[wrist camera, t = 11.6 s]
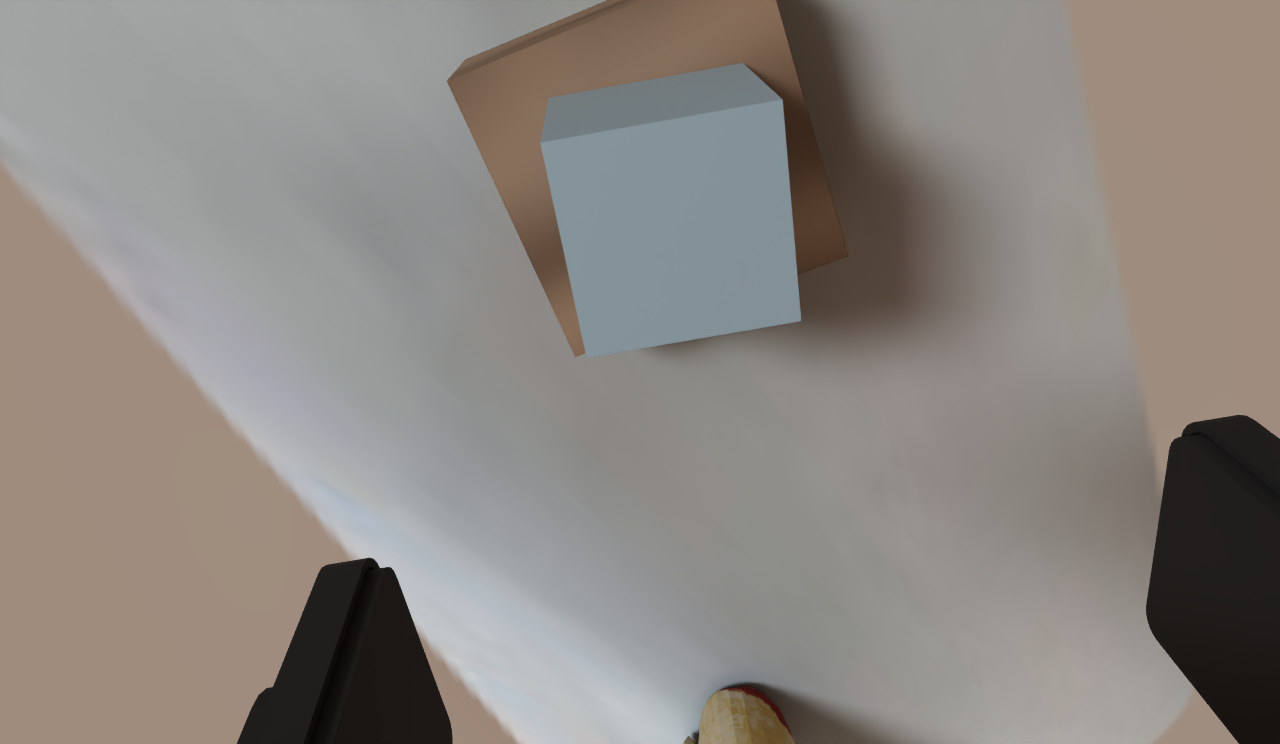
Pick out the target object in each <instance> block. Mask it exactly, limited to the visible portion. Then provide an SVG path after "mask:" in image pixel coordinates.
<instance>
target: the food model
mask: <svg viewBox="0 0 1280 744" xmlns="http://www.w3.org/2000/svg"><path fill="white" fill-rule="evenodd" d="M683 744H696V743H695V742H694V741H693V740H692V739H691V738H690V737H689V736H688V737H687V738H686V740H685V741H684V743H683ZM698 744H796V743H795V741H794V738H793V736H792V733H791V731H790V729H789V727H788V725H787V723H786V721H785V719H784V717H783V715H782V713H781V711H780V709H779V708H778V707H777V706H776V705H775V704H774V703H773V702H772V701H771V700H770V699H769V698H768V697H767V696H766V695H765V694H764V693H763V692H761V691H758V690H756V689H754V688H752V687H750V686H744V687H738V688H725V689H722V690H718V691H716V692H715V693H714V694H713V695H712V696H710V697H709V699H708V701H707V702H706V704H705V706H704V707H703V712H702V717H701V722H700V730H699V743H698Z"/></svg>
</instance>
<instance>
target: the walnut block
mask: <svg viewBox="0 0 1280 744" xmlns="http://www.w3.org/2000/svg"><path fill="white" fill-rule="evenodd" d="M739 63H744V64H745V65H746V66H747V67H748V68H749V69H750V70H751V71H752V72H753V73H754V74H755V75H757V76H758V77H759V78H760V79H761V80H762V81H763V82H764V83H765V84H766V85H767V86H768V87H770V88H771V89H772V90H773V91H774V92H775V93H776V94H777V95H778V96H779V97H780V98H781V99H783V110H784V122H785V134H786V146H787V158H788V170H789V182H790V193H791V205H792V217H793V229H794V241H795V253H796V265H797V275H798V274H800V273H803V272H806V271H808V270H811V269H814V268H816V267H819V266H822V265H824V264H827V263H830V262H833V261H835V260H838V259H841V258H843V257H846V256H848V253H847V249H846V246H845V242H844V239H843V235H842V232H841V228H840V225H839V221H838V218H837V214H836V211H835V207H834V204H833V200H832V196H831V193H830V189H829V186H828V182H827V179H826V175H825V172H824V168H823V165H822V161H821V158H820V154H819V150H818V147H817V143H816V140H815V136H814V133H813V129H812V126H811V122H810V119H809V115H808V112H807V108H806V104H805V101H804V97H803V94H802V90H801V87H800V83H799V80H798V76H797V73H796V69H795V66H794V62H793V58H792V55H791V51H790V48H789V44H788V41H787V37H786V34H785V30H784V27H783V23H782V20H781V16H780V13H779V9H778V5H777V2H776V0H607V1H604V2H602V3H600V4H597V5H595V6H592V7H590V8H588V9H585V10H583V11H580V12H578V13H576V14H573V15H571V16H568V17H566V18H564V19H561V20H559V21H557V22H554V23H552V24H549V25H547V26H545V27H542V28H540V29H537V30H535V31H533V32H530V33H528V34H525V35H523V36H521V37H518V38H516V39H513V40H511V41H509V42H506V43H504V44H501V45H499V46H497V47H494V48H492V49H490V50H487V51H485V52H482V53H480V54H478V55H475V56H473V57H470V58H468V59H466V60H465V61H464V62H463V63H462V64H461V65H460V66H459V68H458V69H457V70H456V71H455V72H454V73H453V74H452V76H451V77H450V78H449V79H448V80H447V82H448V85H449V87H450V89H451V91H452V93H453V95H454V97H455V100H456V102H457V104H458V106H459V108H460V110H461V112H462V115H463V117H464V119H465V121H466V123H467V125H468V127H469V130H470V132H471V134H472V136H473V138H474V140H475V143H476V145H477V147H478V149H479V151H480V153H481V155H482V158H483V160H484V162H485V164H486V166H487V168H488V170H489V173H490V175H491V177H492V179H493V181H494V183H495V185H496V188H497V190H498V192H499V194H500V196H501V198H502V201H503V203H504V205H505V207H506V209H507V211H508V213H509V216H510V218H511V220H512V222H513V224H514V226H515V228H516V231H517V233H518V235H519V237H520V239H521V241H522V243H523V246H524V248H525V250H526V252H527V254H528V256H529V259H530V261H531V263H532V265H533V267H534V269H535V271H536V274H537V276H538V278H539V280H540V282H541V284H542V286H543V289H544V291H545V293H546V295H547V297H548V299H549V301H550V304H551V306H552V308H553V310H554V312H555V314H556V317H557V319H558V321H559V323H560V325H561V327H562V329H563V332H564V334H565V336H566V338H567V340H568V342H569V344H570V347H571V349H572V351H573V353H574V355H575V357H576V356H579V355H582V354H584V353H585V349H584V344H583V339H582V335H581V330H580V326H579V321H578V316H577V312H576V307H575V302H574V298H573V293H572V288H571V284H570V279H569V274H568V270H567V265H566V260H565V256H564V251H563V246H562V242H561V237H560V232H559V228H558V223H557V218H556V214H555V209H554V204H553V200H552V195H551V190H550V186H549V181H548V177H547V172H546V167H545V163H544V158H543V153H542V149H541V144H540V141H541V136H542V131H543V125H544V120H545V115H546V109H547V104H548V99H549V98H550V97H555V96H561V95H566V94H572V93H578V92H583V91H589V90H594V89H600V88H605V87H611V86H617V85H622V84H628V83H633V82H639V81H644V80H650V79H656V78H661V77H667V76H672V75H678V74H683V73H689V72H695V71H700V70H706V69H711V68H717V67H722V66H728V65H734V64H739Z"/></svg>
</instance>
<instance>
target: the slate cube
mask: <svg viewBox="0 0 1280 744" xmlns="http://www.w3.org/2000/svg"><path fill="white" fill-rule="evenodd" d="M540 144H541V149H542V153H543V158H544V163H545V167H546V172H547V177H548V181H549V186H550V190H551V195H552V200H553V204H554V209H555V214H556V218H557V223H558V228H559V232H560V237H561V242H562V246H563V251H564V256H565V260H566V265H567V270H568V274H569V279H570V284H571V288H572V293H573V298H574V302H575V307H576V312H577V316H578V321H579V326H580V330H581V335H582V339H583V344H584V349H585V353H586V358H590V357H596V356H601V355H607V354H613V353H619V352H625V351H631V350H636V349H642V348H648V347H654V346H660V345H665V344H671V343H677V342H683V341H689V340H694V339H700V338H706V337H712V336H718V335H723V334H729V333H735V332H741V331H747V330H753V329H758V328H764V327H770V326H776V325H782V324H787V323H793V322H799V321H801V312H800V300H799V288H798V277H797V265H796V253H795V241H794V229H793V217H792V205H791V193H790V182H789V170H788V158H787V146H786V134H785V122H784V110H783V99H781V98H780V97H779V96H778V95H777V94H776V93H775V92H774V91H773V90H772V89H771V88H770V87H768V86H767V85H766V84H765V83H764V82H763V81H762V80H761V79H760V78H759V77H758V76H757V75H755V74H754V73H753V72H752V71H751V70H750V69H749V68H748V67H747V66H746V65H745V64H744V63H739V64H734V65H728V66H722V67H717V68H711V69H706V70H700V71H695V72H689V73H683V74H678V75H672V76H667V77H661V78H656V79H650V80H644V81H639V82H633V83H628V84H622V85H617V86H611V87H605V88H600V89H594V90H589V91H583V92H578V93H572V94H566V95H561V96H555V97H550V98H549V99H548V104H547V109H546V115H545V120H544V125H543V131H542V136H541V141H540Z"/></svg>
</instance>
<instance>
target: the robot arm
mask: <svg viewBox="0 0 1280 744" xmlns="http://www.w3.org/2000/svg"><path fill="white" fill-rule="evenodd" d="M1146 615H1147V620H1148V623H1149V627H1150V629H1151V631H1152V633H1153V635H1154V637H1155V638H1156V640H1157V641H1158V642H1159V644H1160V645H1161V646H1162V647H1163V649H1164V650H1165V651H1166V652H1167V654H1168V655H1169V656H1170V657H1171V659H1172V660H1173V661H1174V662H1175V664H1176V665H1177V666H1178V667H1179V669H1180V670H1181V671H1182V672H1183V674H1184V675H1185V676H1186V678H1187V679H1188V680H1189V681H1190V683H1191V684H1192V685H1193V686H1194V688H1195V689H1196V690H1197V691H1198V693H1199V694H1200V695H1201V696H1202V698H1203V699H1204V700H1205V701H1206V703H1207V704H1208V705H1209V706H1210V708H1211V709H1212V710H1213V711H1214V713H1215V714H1216V715H1217V716H1218V718H1219V719H1220V720H1221V721H1222V723H1223V724H1224V725H1225V727H1226V728H1227V729H1228V730H1229V732H1230V733H1231V734H1232V735H1233V737H1234V738H1235V739H1236V740H1237V742H1238V743H1239V744H1280V439H1279V438H1278V437H1276V436H1275V435H1274V434H1272V433H1271V432H1270V431H1268V430H1267V429H1266V428H1264V427H1263V426H1262V425H1260V424H1259V423H1258V422H1256V421H1255V420H1253V419H1251V418H1249V417H1248V416H1244V415H1235V416H1229V417H1223V418H1217V419H1212V420H1205V421H1199V422H1193V423H1191V424H1189V425H1187V426H1186V428H1185V429H1184V430H1183V433H1182V436H1181V437H1178V438H1176V439H1174V441H1173V442H1172V443H1171V446H1170V449H1169V455H1168V462H1167V469H1166V475H1165V482H1164V489H1163V496H1162V503H1161V509H1160V516H1159V523H1158V530H1157V536H1156V543H1155V550H1154V557H1153V563H1152V570H1151V577H1150V584H1149V591H1148V597H1147V604H1146ZM237 744H452V729H451V724H450V720H449V717H448V714H447V711H446V709H445V706H444V703H443V701H442V698H441V695H440V693H439V690H438V687H437V684H436V682H435V679H434V677H433V674H432V671H431V668H430V666H429V663H428V660H427V657H426V655H425V652H424V649H423V647H422V644H421V641H420V639H419V636H418V633H417V631H416V628H415V625H414V622H413V620H412V617H411V614H410V612H409V609H408V606H407V604H406V601H405V598H404V595H403V593H402V590H401V587H400V585H399V582H398V579H397V577H396V574H395V572H394V571H393V569H392V568H390V567H386V568H380V567H379V565H378V563H377V562H376V561H375V560H374V559H372V558H366V559H359V560H353V561H347V562H341V563H335V564H329V565H325V566H324V567H322V568H321V570H320V572H319V574H318V576H317V578H316V581H315V583H314V586H313V588H312V591H311V593H310V596H309V598H308V601H307V603H306V606H305V608H304V611H303V613H302V616H301V619H300V621H299V623H298V626H297V628H296V631H295V633H294V636H293V638H292V641H291V643H290V646H289V648H288V651H287V653H286V656H285V658H284V661H283V663H282V666H281V668H280V671H279V674H278V676H277V679H276V681H275V683H274V686H273V687H271V688H266V689H265V690H264V691H263V692H262V693H261V694H259V696H258V697H257V699H256V701H255V703H254V705H253V706H252V708H251V711H250V713H249V716H248V718H247V720H246V723H245V725H244V728H243V730H242V733H241V735H240V737H239V740H238V742H237Z"/></svg>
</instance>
